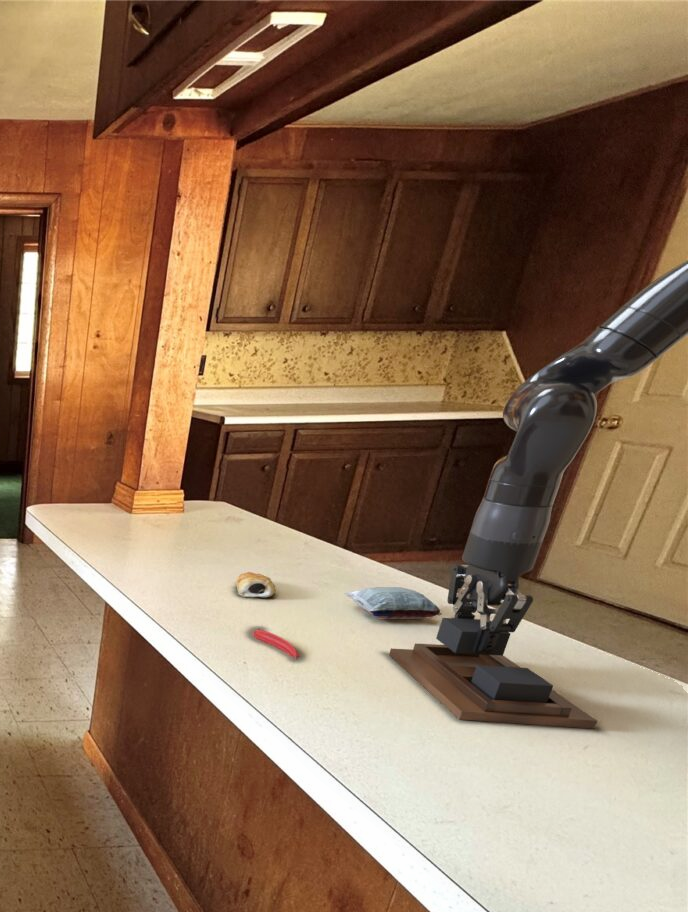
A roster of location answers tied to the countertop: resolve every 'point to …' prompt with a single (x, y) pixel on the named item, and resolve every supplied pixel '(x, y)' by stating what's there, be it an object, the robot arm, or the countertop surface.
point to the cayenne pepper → (276, 642)
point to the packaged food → (394, 603)
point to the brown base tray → (454, 690)
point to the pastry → (254, 585)
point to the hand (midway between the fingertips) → (469, 644)
